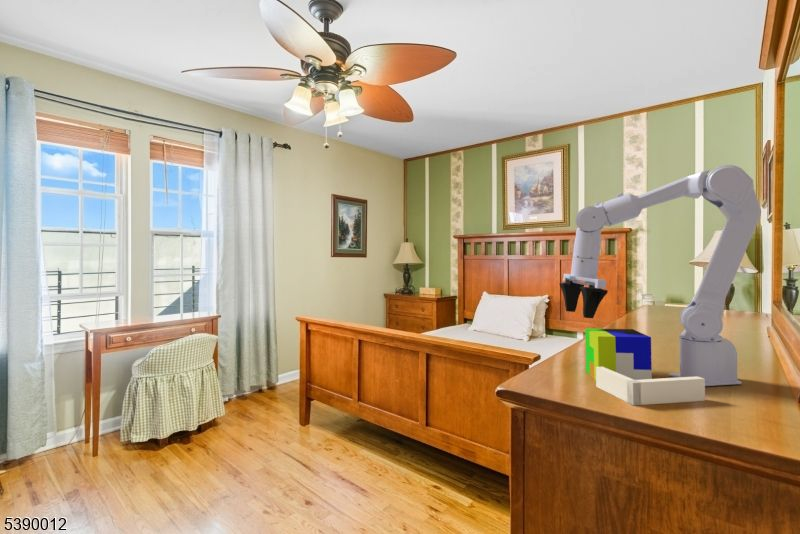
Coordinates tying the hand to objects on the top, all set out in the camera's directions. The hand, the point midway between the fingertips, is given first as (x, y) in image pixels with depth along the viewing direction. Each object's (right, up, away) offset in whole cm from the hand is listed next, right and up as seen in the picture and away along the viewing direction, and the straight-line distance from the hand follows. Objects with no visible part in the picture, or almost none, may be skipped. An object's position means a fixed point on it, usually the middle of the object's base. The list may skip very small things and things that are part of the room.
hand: (579, 314), depth 95 cm
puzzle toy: (+4, -13, -9) cm, 16 cm away
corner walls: (+4, -13, -19) cm, 24 cm away
